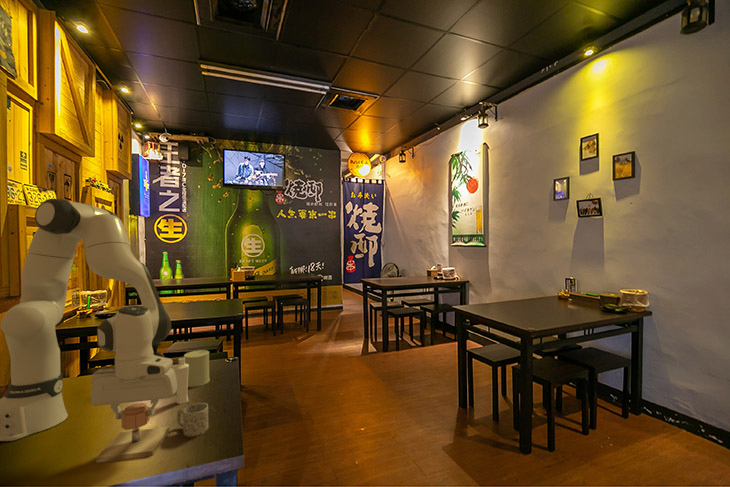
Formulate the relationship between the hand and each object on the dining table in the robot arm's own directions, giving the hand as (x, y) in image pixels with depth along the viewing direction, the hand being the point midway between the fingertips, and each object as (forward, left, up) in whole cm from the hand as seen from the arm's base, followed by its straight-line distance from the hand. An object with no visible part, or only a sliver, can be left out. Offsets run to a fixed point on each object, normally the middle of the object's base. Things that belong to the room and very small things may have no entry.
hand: (135, 416), depth 93 cm
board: (0, 0, -8) cm, 8 cm away
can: (+4, +43, -8) cm, 44 cm away
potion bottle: (-14, +48, -8) cm, 51 cm away
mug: (+13, +5, -8) cm, 16 cm away
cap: (0, 0, -2) cm, 2 cm away
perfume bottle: (+4, +26, -8) cm, 27 cm away
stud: (0, 0, -7) cm, 7 cm away
